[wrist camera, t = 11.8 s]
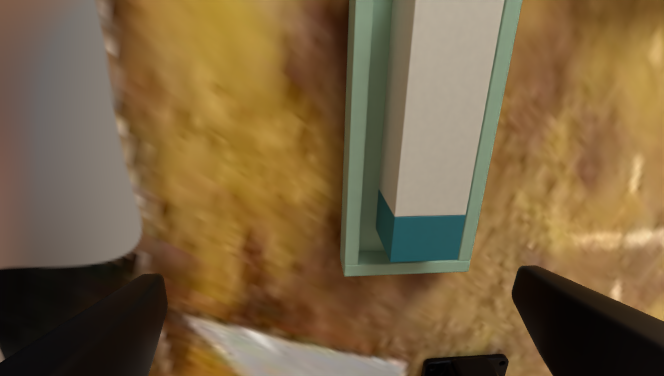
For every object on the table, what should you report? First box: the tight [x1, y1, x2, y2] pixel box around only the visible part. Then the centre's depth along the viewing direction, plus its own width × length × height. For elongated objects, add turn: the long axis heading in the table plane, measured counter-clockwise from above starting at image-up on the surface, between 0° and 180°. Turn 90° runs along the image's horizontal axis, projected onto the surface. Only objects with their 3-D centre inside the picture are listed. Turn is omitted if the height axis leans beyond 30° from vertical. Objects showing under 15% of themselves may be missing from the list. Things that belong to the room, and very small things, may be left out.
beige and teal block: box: [376, 0, 504, 262], centre depth 17 cm, size 13×4×4 cm, turn 179°
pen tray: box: [340, 0, 522, 276], centre depth 19 cm, size 18×8×2 cm, turn 179°
